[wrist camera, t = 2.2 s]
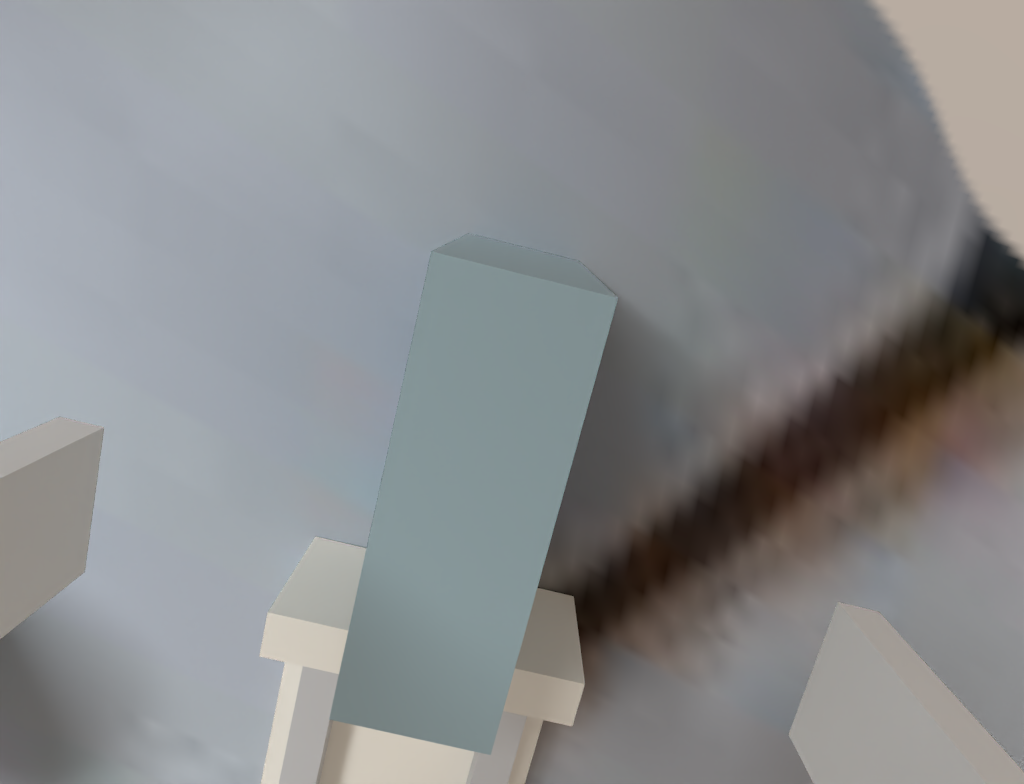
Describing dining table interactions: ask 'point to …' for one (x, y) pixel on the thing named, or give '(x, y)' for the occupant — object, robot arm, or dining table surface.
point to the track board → (386, 756)
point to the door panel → (471, 489)
